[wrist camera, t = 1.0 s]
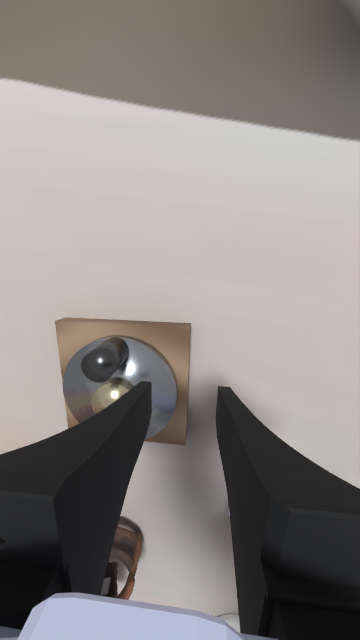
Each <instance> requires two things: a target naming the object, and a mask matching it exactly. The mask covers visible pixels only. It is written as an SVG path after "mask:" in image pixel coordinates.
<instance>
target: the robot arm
mask: <svg viewBox="0 0 360 640" xmlns="http://www.w3.org/2000/svg"><path fill="white" fill-rule="evenodd" d="M151 415H152V382H148V381H140V382H139V383H138V384H136V385H135V386H134V387H133V388H132V389H130V390H129V391H128V392H127V393H125V394H124V395H123V396H121V397H120V398H119V399H118V400H116V401H115V402H113V403H112V404H110V405H109V406H108V407H106V408H105V409H103V410H102V411H100V412H99V413H97V414H95V415H94V416H92V417H90V418H88V419H87V420H85V421H83V422H81V423H79V424H77V425H75V426H73V427H71V428H69V429H67V430H65V431H63V432H61V433H58V434H56V435H54V436H51V437H49V438H47V439H44V440H41V441H39V442H36V443H34V444H31V445H28V446H25V447H22V448H19V449H16V450H13V451H10V452H7V453H4V454H1V455H0V640H360V489H359V488H357V487H355V486H353V485H351V484H350V483H348V482H346V481H344V480H342V479H340V478H339V477H337V476H335V475H333V474H331V473H330V472H328V471H327V470H325V469H323V468H322V467H320V466H318V465H317V464H315V463H314V462H312V461H311V460H309V459H308V458H306V457H304V456H303V455H302V454H300V453H299V452H297V451H296V450H295V449H293V448H292V447H290V446H289V445H288V444H286V443H285V442H284V441H282V440H281V439H280V438H279V437H277V436H276V435H275V434H274V433H273V432H271V431H270V430H269V429H268V428H267V427H266V426H265V425H264V424H262V423H261V422H260V421H259V420H258V419H257V418H256V417H255V416H254V415H253V414H252V413H251V412H250V410H249V409H248V408H247V407H246V406H245V405H244V404H243V403H242V401H241V400H240V399H239V398H238V397H237V395H236V394H235V393H234V392H233V391H232V389H231V388H230V387H221V386H218V396H217V408H216V429H217V439H218V444H219V450H220V455H221V460H222V465H223V471H224V476H225V481H226V487H227V494H228V503H229V508H228V514H229V516H230V522H231V532H232V542H233V553H234V564H235V575H236V586H237V598H238V610H239V622H240V633H238V632H237V631H236V630H235V629H234V628H232V627H231V626H230V625H229V624H228V623H226V622H225V621H224V620H223V619H221V618H218V617H215V616H212V615H209V614H206V613H203V612H199V611H196V610H190V609H183V608H176V607H170V606H163V605H157V604H150V603H144V602H137V601H131V600H124V599H118V598H111V597H104V596H100V595H101V591H102V586H103V582H104V578H105V574H106V570H107V565H108V561H109V557H110V553H111V549H112V545H113V541H114V537H115V533H116V529H117V526H118V522H119V518H120V514H121V510H122V506H123V503H124V499H125V495H126V492H127V488H128V484H129V481H130V478H131V475H132V472H133V469H134V467H135V464H136V461H137V459H138V456H139V453H140V451H141V448H142V445H143V442H144V440H145V437H146V434H147V431H148V427H149V423H150V419H151Z"/></svg>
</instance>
